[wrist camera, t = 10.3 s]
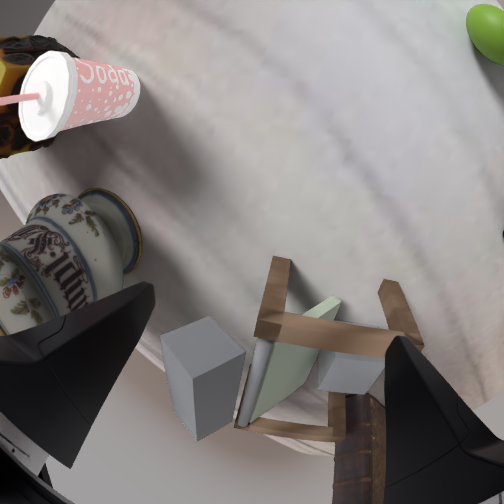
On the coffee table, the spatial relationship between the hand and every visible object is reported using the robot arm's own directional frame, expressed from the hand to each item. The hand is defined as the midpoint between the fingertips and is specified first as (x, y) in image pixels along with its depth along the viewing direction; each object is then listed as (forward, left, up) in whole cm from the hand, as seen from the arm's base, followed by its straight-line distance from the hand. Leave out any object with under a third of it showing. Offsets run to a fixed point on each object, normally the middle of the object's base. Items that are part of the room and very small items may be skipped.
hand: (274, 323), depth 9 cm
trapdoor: (+2, +13, -9) cm, 16 cm away
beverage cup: (+16, -8, -13) cm, 22 cm away
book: (-19, +27, -13) cm, 36 cm away
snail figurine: (-14, -20, -13) cm, 28 cm away
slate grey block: (-6, +12, -11) cm, 17 cm away
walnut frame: (-5, +13, -13) cm, 19 cm away
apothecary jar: (+18, +6, -13) cm, 23 cm away
